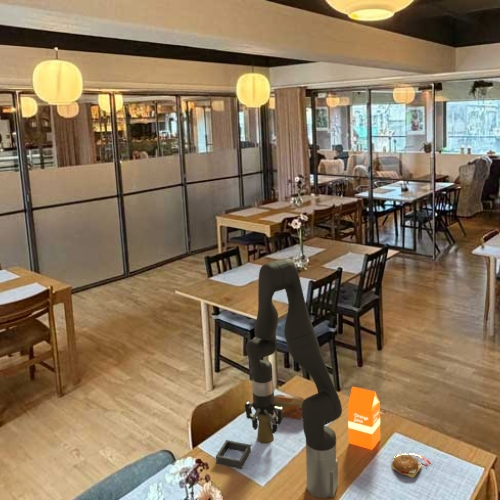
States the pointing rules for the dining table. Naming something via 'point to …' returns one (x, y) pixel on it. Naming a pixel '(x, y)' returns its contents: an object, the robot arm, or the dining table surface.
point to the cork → (264, 430)
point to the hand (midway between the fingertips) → (265, 430)
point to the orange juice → (364, 418)
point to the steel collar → (231, 461)
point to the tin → (289, 406)
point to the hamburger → (407, 464)
